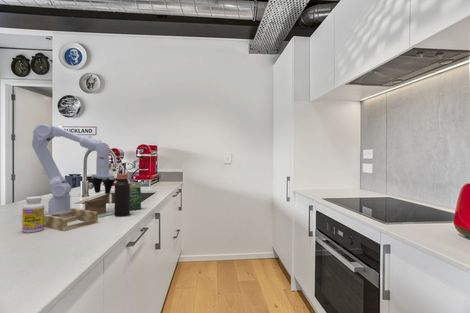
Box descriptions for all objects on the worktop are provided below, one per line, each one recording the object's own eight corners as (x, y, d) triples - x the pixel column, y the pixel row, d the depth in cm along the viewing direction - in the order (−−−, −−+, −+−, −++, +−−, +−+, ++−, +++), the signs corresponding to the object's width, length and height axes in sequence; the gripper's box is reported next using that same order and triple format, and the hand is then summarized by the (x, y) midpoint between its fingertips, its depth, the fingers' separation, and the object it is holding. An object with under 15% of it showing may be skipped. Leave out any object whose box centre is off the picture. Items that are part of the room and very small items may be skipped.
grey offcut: (51, 220, 108) (51, 214, 108) (63, 216, 115) (63, 210, 115) (60, 220, 107) (60, 214, 107) (72, 216, 114) (72, 211, 114)
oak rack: (38, 225, 107) (38, 214, 107) (72, 217, 119) (72, 208, 119) (64, 231, 99) (64, 219, 99) (97, 222, 112) (97, 212, 112)
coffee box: (125, 211, 134) (125, 186, 134) (124, 210, 137) (124, 185, 137) (141, 209, 138) (141, 185, 138) (139, 208, 141) (140, 184, 141)
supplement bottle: (20, 234, 95) (20, 199, 95) (24, 229, 101) (25, 196, 101) (42, 231, 98) (42, 198, 98) (45, 227, 104) (45, 195, 104)
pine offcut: (47, 225, 108) (47, 220, 108) (68, 220, 116) (68, 215, 116) (55, 227, 106) (55, 221, 106) (75, 221, 114) (75, 216, 114)
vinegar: (124, 217, 121) (124, 174, 121) (111, 216, 123) (111, 174, 123) (132, 213, 128) (132, 173, 128) (120, 213, 129) (120, 173, 129)
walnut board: (84, 215, 122) (85, 201, 122) (102, 212, 130) (102, 198, 130) (88, 216, 120) (89, 201, 120) (106, 212, 128) (106, 198, 128)
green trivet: (76, 216, 122) (76, 215, 122) (99, 211, 133) (99, 210, 133) (92, 219, 117) (92, 218, 117) (115, 214, 128) (115, 213, 128)
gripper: (119, 166, 131) (119, 193, 131) (100, 165, 137) (100, 191, 137) (107, 167, 124) (106, 195, 124) (87, 166, 131) (87, 192, 131)
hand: (102, 193), depth 130 cm, fingers open, 7 cm apart
